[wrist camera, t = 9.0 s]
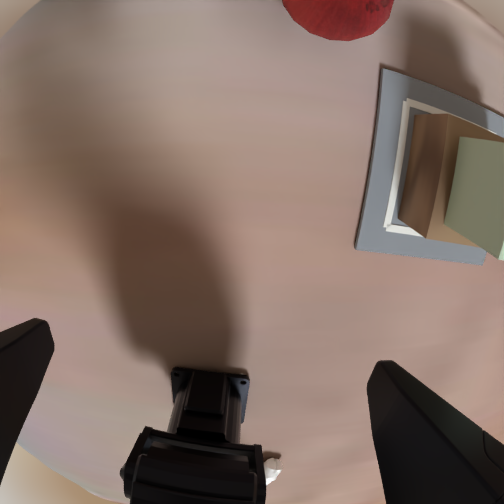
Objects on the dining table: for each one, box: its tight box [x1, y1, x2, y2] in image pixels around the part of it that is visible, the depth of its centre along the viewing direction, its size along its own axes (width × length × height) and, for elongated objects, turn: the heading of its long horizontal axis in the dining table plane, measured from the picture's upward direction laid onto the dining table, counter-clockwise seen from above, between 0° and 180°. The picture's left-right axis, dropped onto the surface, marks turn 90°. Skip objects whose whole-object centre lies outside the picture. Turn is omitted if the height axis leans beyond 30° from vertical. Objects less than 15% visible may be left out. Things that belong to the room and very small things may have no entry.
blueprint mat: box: [354, 68, 504, 265], centre depth 18 cm, size 12×12×1 cm
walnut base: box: [398, 114, 504, 248], centre depth 16 cm, size 7×7×4 cm
